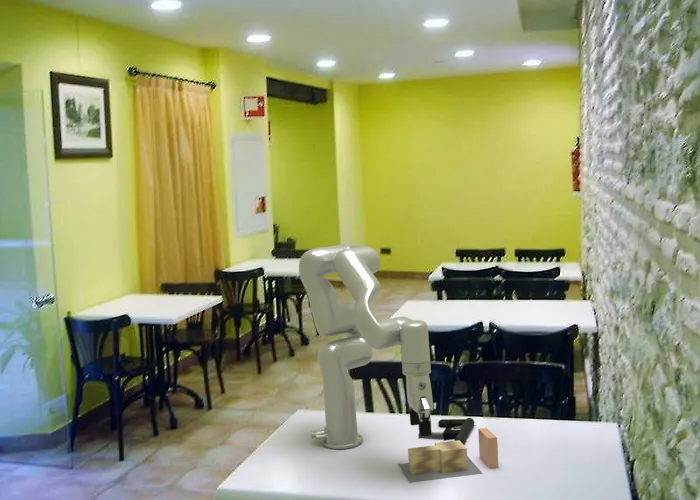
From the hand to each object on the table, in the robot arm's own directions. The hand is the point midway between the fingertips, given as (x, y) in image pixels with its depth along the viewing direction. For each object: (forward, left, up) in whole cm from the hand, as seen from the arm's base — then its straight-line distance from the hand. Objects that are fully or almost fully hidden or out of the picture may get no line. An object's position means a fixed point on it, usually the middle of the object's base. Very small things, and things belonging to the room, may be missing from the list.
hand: (420, 430), depth 198 cm
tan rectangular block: (+19, +1, -12) cm, 22 cm away
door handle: (+15, +26, -13) cm, 33 cm away
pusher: (+5, +1, -12) cm, 12 cm away
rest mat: (+5, +1, -12) cm, 13 cm away
